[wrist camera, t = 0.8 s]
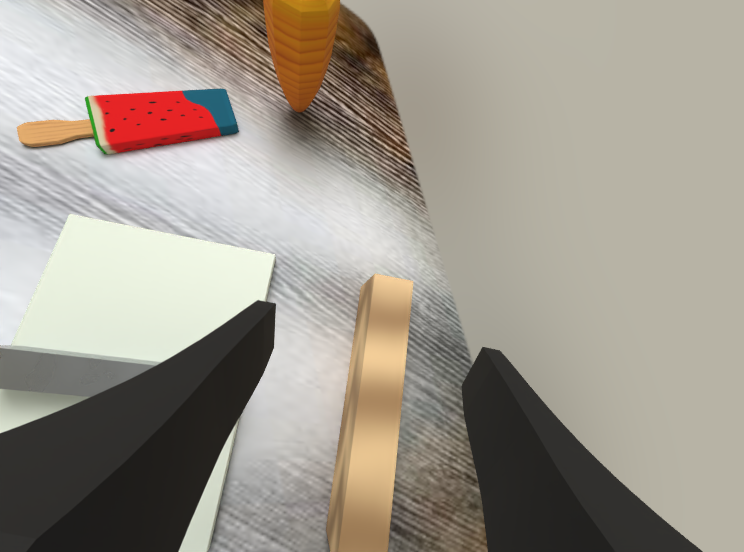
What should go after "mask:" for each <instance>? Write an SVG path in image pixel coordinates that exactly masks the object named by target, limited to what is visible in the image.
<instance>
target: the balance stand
mask: <svg viewBox="0 0 744 552" xmlns="http://www.w3.org/2000/svg"><path fill="white" fill-rule="evenodd" d="M275 260H276V257H275V254H270V253H264V252H259V251H254V250H249V249H244V248H239V247H234V246H229V245H224V244H219V243H214V242H209V241H204V240H199V239H194V238H189V237H184V236H179V235H174V234H168V233H163V232H158V231H153V230H148V229H143V228H138V227H133V226H128V225H123V224H118V223H113V222H108V221H103V220H98V219H93V218H88V217H83V216H78V215H72V214H69V216H68V219H67V221H66V223H65V225H64V228H63V230H62V232H61V234H60V236H59V239H58V241H57V243H56V245H55V248H54V250H53V252H52V254H51V257H50V259H49V261H48V263H47V266H46V268H45V270H44V272H43V274H42V277H41V279H40V281H39V283H38V286H37V288H36V290H35V292H34V295H33V297H32V299H31V301H30V303H29V306H28V308H27V310H26V312H25V315H24V317H23V319H22V321H21V324H20V326H19V328H18V330H17V333H16V335H15V337H14V339H13V341H12V344H11V346H10V345H0V433H2V432H5V431H8V430H10V429H13V428H16V427H18V426H21V425H24V424H26V423H29V422H31V421H34V420H37V419H39V418H42V417H44V416H47V415H49V414H52V413H54V412H57V411H59V410H62V409H64V408H66V407H69V406H71V405H74V404H76V403H78V402H81V401H83V400H85V399H87V398H90V397H92V396H94V395H96V394H98V393H101V392H103V391H105V390H107V389H109V388H112V387H114V386H116V385H118V384H120V383H123V382H125V381H127V380H129V379H131V378H133V377H135V376H137V375H139V374H141V373H143V372H145V371H147V370H148V369H150V368H152V367H154V366H156V365H158V364H160V363H161V362H163V361H165V360H167V359H169V358H170V357H172V356H174V355H175V354H177V353H179V352H180V351H182V350H184V349H185V348H187V347H189V346H190V345H192V344H194V343H195V342H197V341H198V340H200V339H202V338H203V337H205V336H206V335H208V334H209V333H211V332H212V331H214V330H215V329H217V328H218V327H220V326H221V325H223V324H224V323H226V322H227V321H228V320H230V319H231V318H233V317H234V316H236V315H237V314H238V313H240V312H241V311H243V310H244V309H245V308H247V307H248V306H250V305H251V304H252V303H254V302H255V301H257V300H260V301H265V302H266V300H267V295H268V291H269V287H270V282H271V278H272V273H273V269H274V265H275ZM239 418H240V417H239ZM238 422H239V419H238V421H237V423H236V425H235V426H234V428H233V430H232V432H231V434H230V435H229V437H228V439H227V441H226V443H225V445H224V447H223V449H222V451H221V453H220V455H219V458H218V460H217V462H216V464H215V467H214V469H213V471H212V474H211V476H210V478H209V480H208V483H207V485H206V487H205V489H204V492H203V494H202V497H201V499H200V501H199V504H198V506H197V508H196V511H195V513H194V515H193V518H192V520H191V522H190V525H189V527H188V530H187V532H186V535H185V537H184V539H183V542H182V544H181V547H180V549H179V552H208V550H209V547H210V544H211V540H212V535H213V531H214V527H215V522H216V518H217V514H218V509H219V505H220V500H221V496H222V492H223V487H224V483H225V479H226V474H227V470H228V466H229V461H230V457H231V452H232V448H233V444H234V439H235V435H236V431H237V426H238Z"/></svg>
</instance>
